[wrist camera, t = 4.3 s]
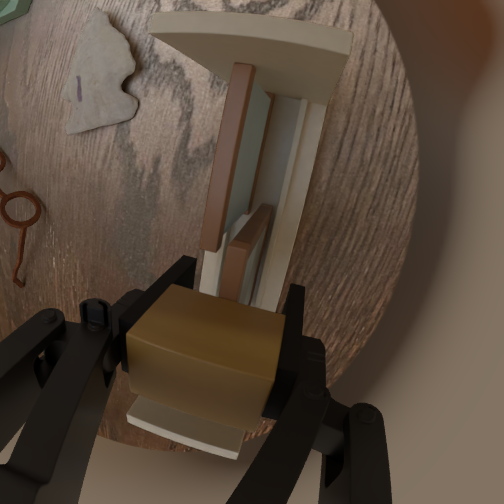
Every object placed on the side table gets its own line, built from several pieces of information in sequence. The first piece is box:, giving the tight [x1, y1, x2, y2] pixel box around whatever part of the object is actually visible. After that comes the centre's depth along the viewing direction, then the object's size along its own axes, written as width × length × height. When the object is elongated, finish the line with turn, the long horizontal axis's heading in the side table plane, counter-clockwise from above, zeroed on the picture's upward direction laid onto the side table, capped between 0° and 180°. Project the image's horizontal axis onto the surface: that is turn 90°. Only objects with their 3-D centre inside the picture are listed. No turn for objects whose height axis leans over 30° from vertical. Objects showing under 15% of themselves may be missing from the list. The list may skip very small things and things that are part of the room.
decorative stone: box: [61, 7, 138, 135], centre depth 20 cm, size 8×12×3 cm
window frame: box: [127, 11, 354, 460], centre depth 16 cm, size 18×6×14 cm, turn 168°
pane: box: [126, 203, 286, 432], centre depth 15 cm, size 8×5×13 cm, turn 169°
